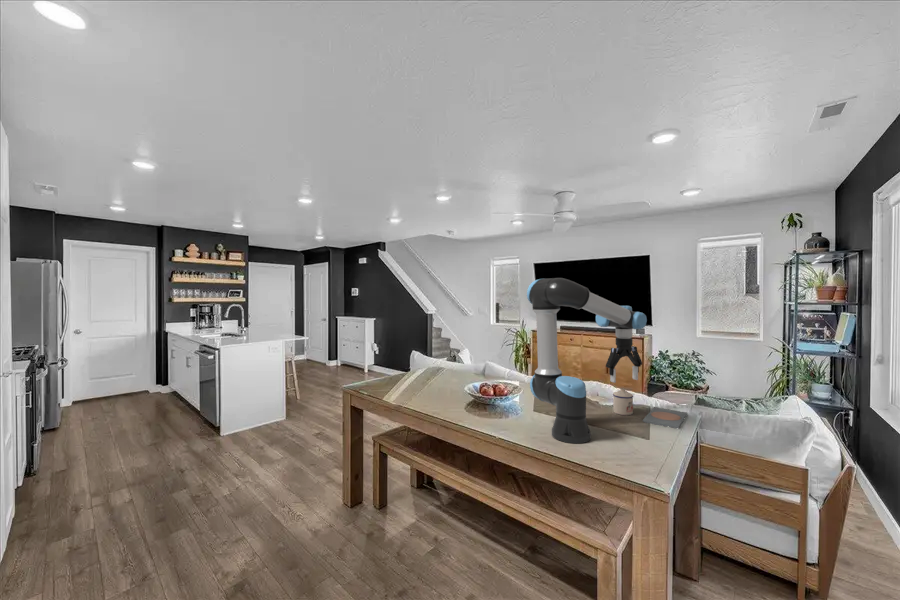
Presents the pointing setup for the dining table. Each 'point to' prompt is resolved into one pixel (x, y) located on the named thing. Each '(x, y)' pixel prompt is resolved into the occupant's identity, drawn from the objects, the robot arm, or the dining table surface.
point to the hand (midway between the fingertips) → (624, 380)
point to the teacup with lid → (623, 402)
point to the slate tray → (665, 417)
